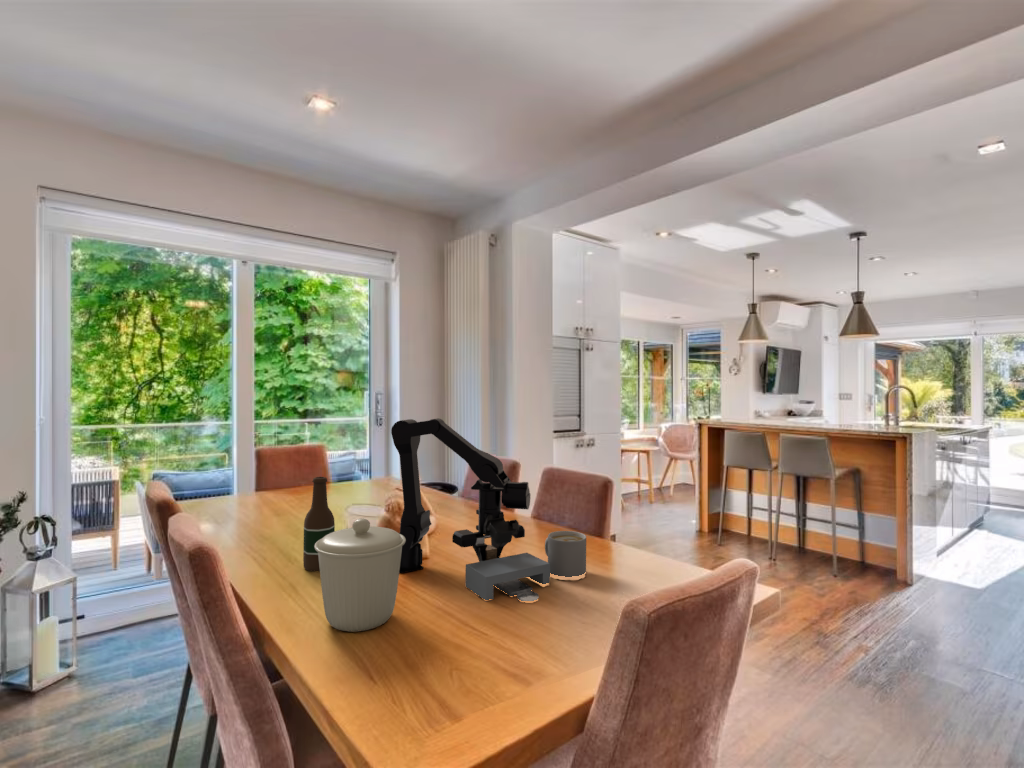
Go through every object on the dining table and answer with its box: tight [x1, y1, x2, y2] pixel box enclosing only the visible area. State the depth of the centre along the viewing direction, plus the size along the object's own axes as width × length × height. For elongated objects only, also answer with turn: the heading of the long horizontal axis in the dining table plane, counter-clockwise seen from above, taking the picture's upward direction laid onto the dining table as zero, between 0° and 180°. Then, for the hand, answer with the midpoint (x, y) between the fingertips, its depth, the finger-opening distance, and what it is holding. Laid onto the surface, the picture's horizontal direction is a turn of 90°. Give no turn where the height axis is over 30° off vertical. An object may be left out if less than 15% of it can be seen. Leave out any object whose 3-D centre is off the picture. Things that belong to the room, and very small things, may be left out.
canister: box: [314, 517, 406, 633], centre depth 109 cm, size 18×18×21 cm
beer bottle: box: [302, 476, 336, 572], centre depth 141 cm, size 8×8×24 cm
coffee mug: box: [544, 530, 587, 577], centre depth 138 cm, size 13×10×10 cm
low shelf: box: [464, 552, 551, 600], centre depth 128 cm, size 18×10×6 cm, turn 122°
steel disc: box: [516, 590, 540, 601], centre depth 120 cm, size 5×5×1 cm
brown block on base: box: [485, 544, 533, 596], centre depth 130 cm, size 6×18×7 cm, turn 32°
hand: (489, 567), depth 136 cm, fingers closed on brown block on base, 3 cm apart
